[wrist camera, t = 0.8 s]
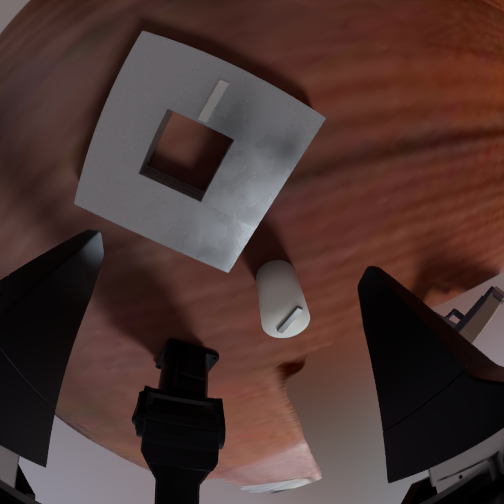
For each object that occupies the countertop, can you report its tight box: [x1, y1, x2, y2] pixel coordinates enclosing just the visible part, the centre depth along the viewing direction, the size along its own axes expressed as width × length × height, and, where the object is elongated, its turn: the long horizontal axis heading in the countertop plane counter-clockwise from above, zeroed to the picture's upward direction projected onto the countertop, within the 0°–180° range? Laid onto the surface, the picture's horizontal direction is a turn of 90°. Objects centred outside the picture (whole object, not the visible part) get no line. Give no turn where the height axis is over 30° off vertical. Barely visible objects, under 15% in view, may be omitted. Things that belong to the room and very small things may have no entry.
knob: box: [256, 260, 310, 338], centre depth 23 cm, size 4×4×6 cm
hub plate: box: [74, 31, 326, 273], centre depth 18 cm, size 14×14×3 cm
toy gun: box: [435, 286, 504, 344], centre depth 29 cm, size 2×21×10 cm, turn 92°
